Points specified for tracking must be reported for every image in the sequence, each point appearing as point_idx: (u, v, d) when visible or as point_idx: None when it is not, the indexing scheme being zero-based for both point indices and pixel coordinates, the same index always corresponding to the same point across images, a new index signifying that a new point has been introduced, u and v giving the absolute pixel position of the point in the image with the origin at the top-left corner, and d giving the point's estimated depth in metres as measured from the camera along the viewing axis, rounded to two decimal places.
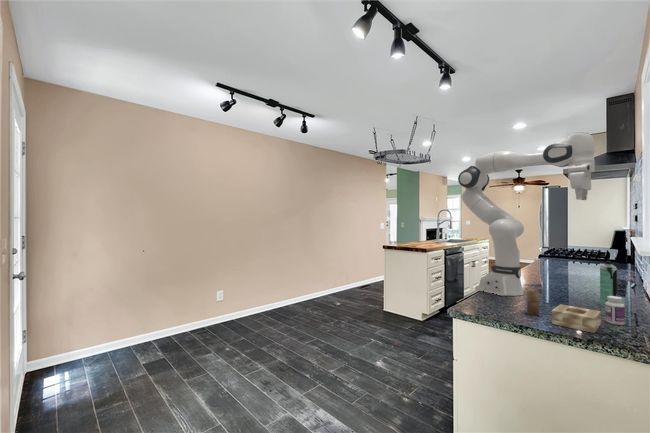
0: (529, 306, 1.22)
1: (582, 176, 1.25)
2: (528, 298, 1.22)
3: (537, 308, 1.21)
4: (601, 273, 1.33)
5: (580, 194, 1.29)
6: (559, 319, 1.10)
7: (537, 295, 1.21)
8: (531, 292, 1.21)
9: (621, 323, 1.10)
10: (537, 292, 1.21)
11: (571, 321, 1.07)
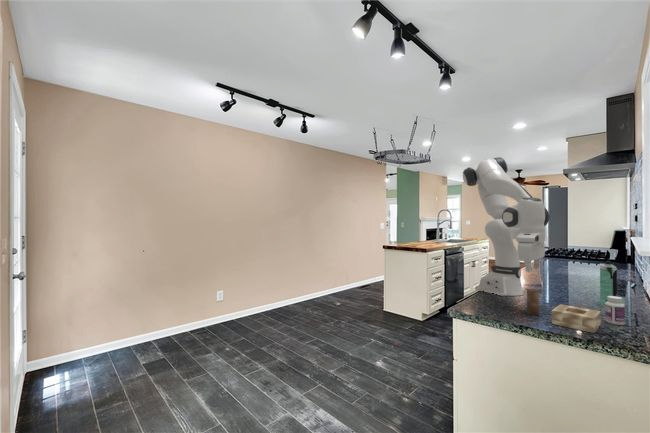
0: (529, 306, 1.22)
1: (530, 249, 1.15)
2: (528, 298, 1.22)
3: (537, 308, 1.21)
4: (601, 273, 1.33)
5: (529, 266, 1.18)
6: (559, 319, 1.10)
7: (537, 295, 1.21)
8: (531, 292, 1.21)
9: (621, 323, 1.10)
10: (537, 292, 1.21)
11: (571, 321, 1.07)
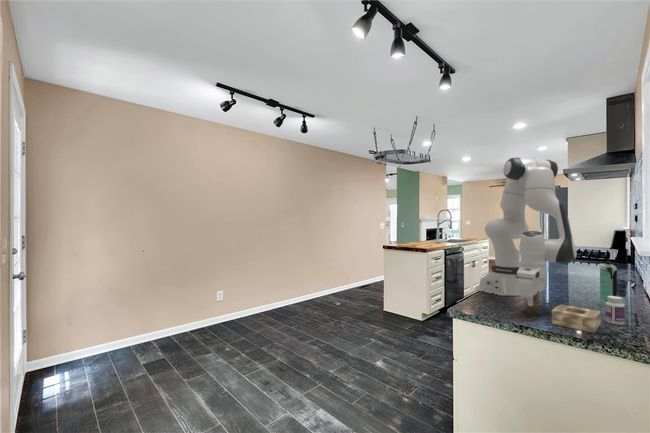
0: (529, 306, 1.22)
1: (530, 285, 1.15)
2: None
3: (537, 308, 1.21)
4: (601, 273, 1.33)
5: (531, 301, 1.20)
6: (559, 319, 1.10)
7: (537, 295, 1.21)
8: None
9: (621, 323, 1.10)
10: (537, 292, 1.21)
11: (571, 321, 1.07)
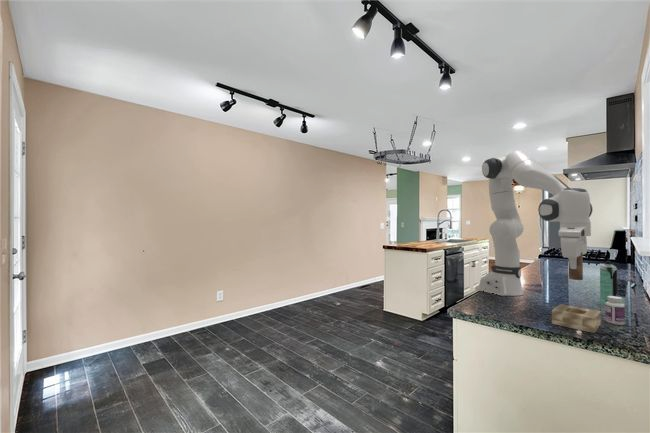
0: (572, 270, 1.10)
1: (575, 244, 1.03)
2: None
3: (581, 271, 1.09)
4: (601, 273, 1.33)
5: (575, 263, 1.08)
6: (559, 319, 1.10)
7: (581, 257, 1.09)
8: None
9: (621, 323, 1.10)
10: (581, 254, 1.09)
11: (571, 321, 1.07)
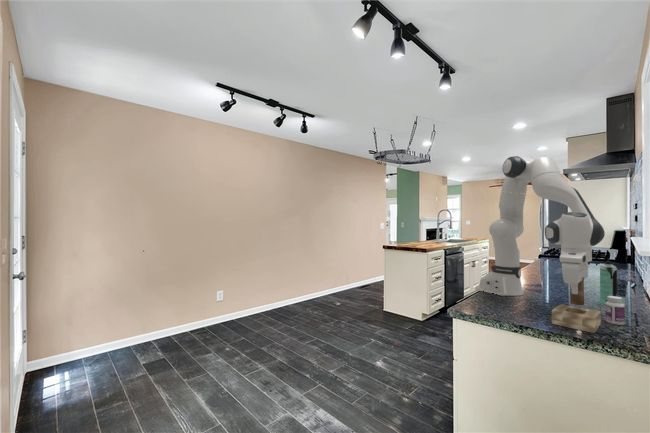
0: (573, 294, 1.10)
1: (577, 270, 1.03)
2: None
3: (582, 296, 1.09)
4: (601, 273, 1.33)
5: (576, 288, 1.08)
6: (559, 319, 1.10)
7: (582, 282, 1.09)
8: None
9: (621, 323, 1.10)
10: (582, 279, 1.09)
11: (571, 321, 1.07)
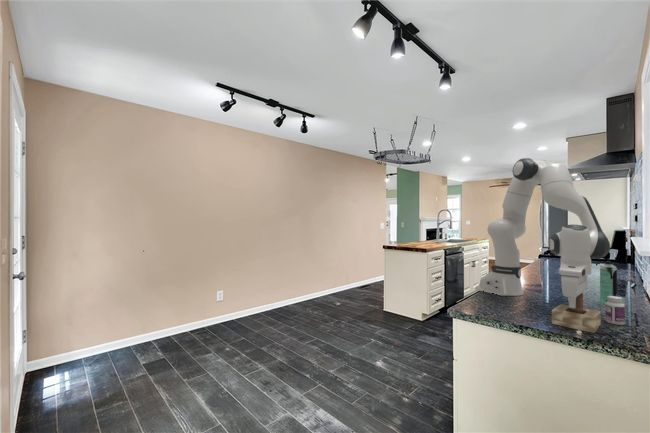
0: (572, 311, 1.10)
1: (576, 284, 1.03)
2: None
3: (581, 313, 1.09)
4: (601, 273, 1.33)
5: (574, 302, 1.07)
6: (559, 319, 1.10)
7: (581, 299, 1.09)
8: None
9: (621, 323, 1.10)
10: (581, 296, 1.09)
11: (571, 321, 1.07)
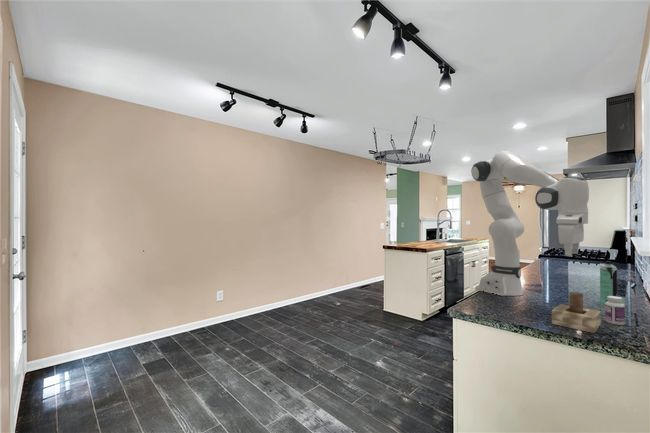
0: (572, 311, 1.10)
1: (572, 231, 1.06)
2: (571, 302, 1.11)
3: (581, 313, 1.09)
4: (601, 273, 1.33)
5: (570, 250, 1.10)
6: (559, 319, 1.10)
7: (581, 299, 1.09)
8: (575, 296, 1.10)
9: (621, 323, 1.10)
10: (581, 296, 1.09)
11: (571, 321, 1.07)
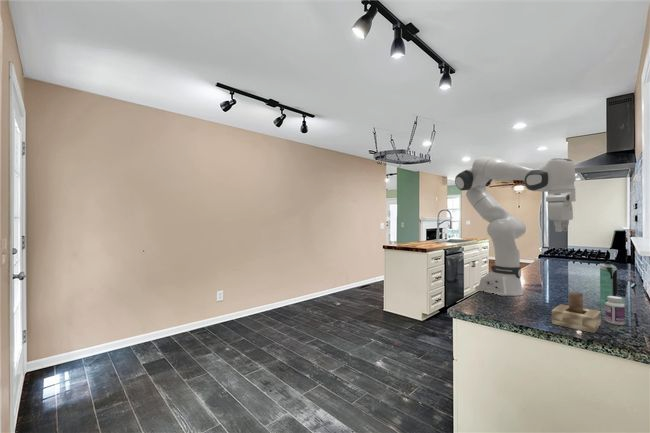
0: (572, 311, 1.10)
1: (561, 207, 1.14)
2: (571, 302, 1.11)
3: (581, 313, 1.09)
4: (601, 273, 1.33)
5: (559, 226, 1.17)
6: (559, 319, 1.10)
7: (581, 299, 1.09)
8: (574, 296, 1.10)
9: (621, 323, 1.10)
10: (581, 296, 1.09)
11: (571, 321, 1.07)
